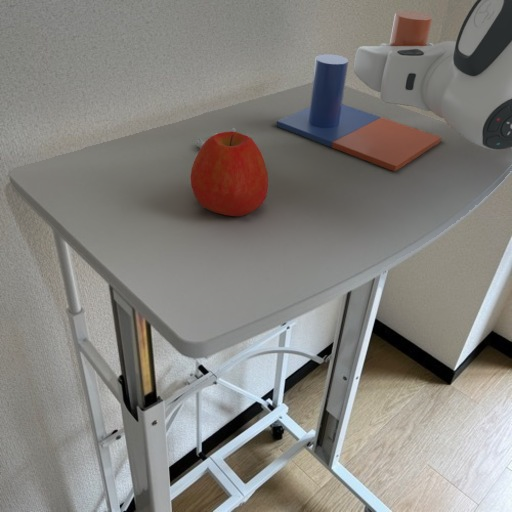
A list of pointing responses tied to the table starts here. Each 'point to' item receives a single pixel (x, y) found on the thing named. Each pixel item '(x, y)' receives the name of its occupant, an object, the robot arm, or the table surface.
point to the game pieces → (200, 142)
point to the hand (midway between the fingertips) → (404, 48)
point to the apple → (229, 175)
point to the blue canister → (327, 90)
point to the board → (365, 137)
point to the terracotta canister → (410, 29)
